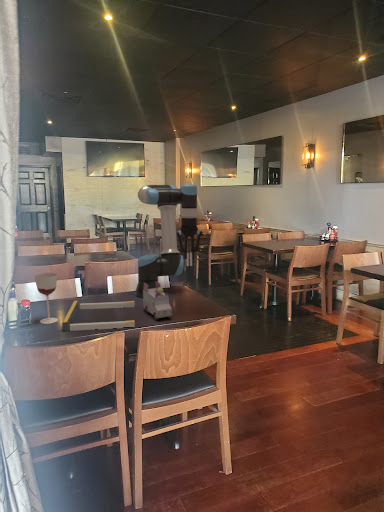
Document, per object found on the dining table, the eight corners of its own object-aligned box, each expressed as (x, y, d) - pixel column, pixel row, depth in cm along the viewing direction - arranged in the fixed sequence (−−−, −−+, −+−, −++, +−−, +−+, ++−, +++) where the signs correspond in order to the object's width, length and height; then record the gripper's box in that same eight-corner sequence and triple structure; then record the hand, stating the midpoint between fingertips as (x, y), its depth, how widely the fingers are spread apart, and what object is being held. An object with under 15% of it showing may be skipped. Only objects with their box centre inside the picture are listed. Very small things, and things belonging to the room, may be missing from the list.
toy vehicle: (155, 322, 176) (155, 291, 173) (141, 310, 193) (140, 282, 190) (173, 319, 180) (173, 289, 177) (158, 308, 197) (157, 280, 194)
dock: (134, 305, 200) (134, 298, 200) (134, 327, 169) (134, 318, 168) (74, 308, 196) (74, 300, 195) (62, 331, 165) (62, 322, 164)
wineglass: (63, 320, 178) (60, 275, 175) (43, 325, 172) (40, 278, 168) (54, 316, 184) (51, 272, 180) (35, 320, 177) (31, 275, 174)
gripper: (202, 216, 185) (201, 263, 189) (173, 216, 183) (174, 264, 187) (204, 217, 177) (204, 266, 182) (175, 217, 175) (175, 267, 180)
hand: (189, 265), depth 184 cm, fingers closed
